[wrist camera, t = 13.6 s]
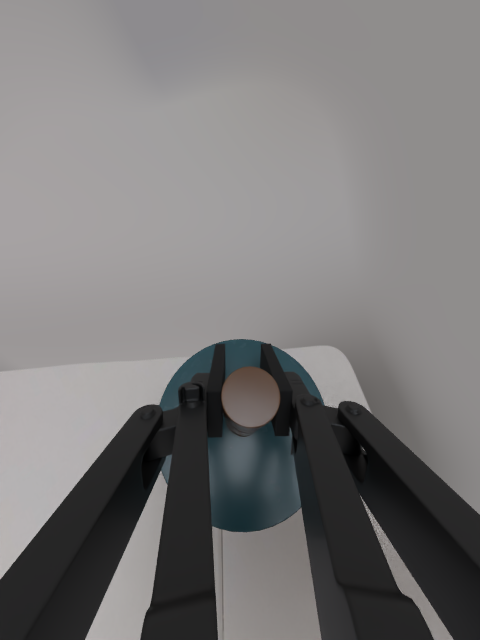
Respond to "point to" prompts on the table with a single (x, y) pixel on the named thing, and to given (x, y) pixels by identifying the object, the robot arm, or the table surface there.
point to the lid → (246, 439)
